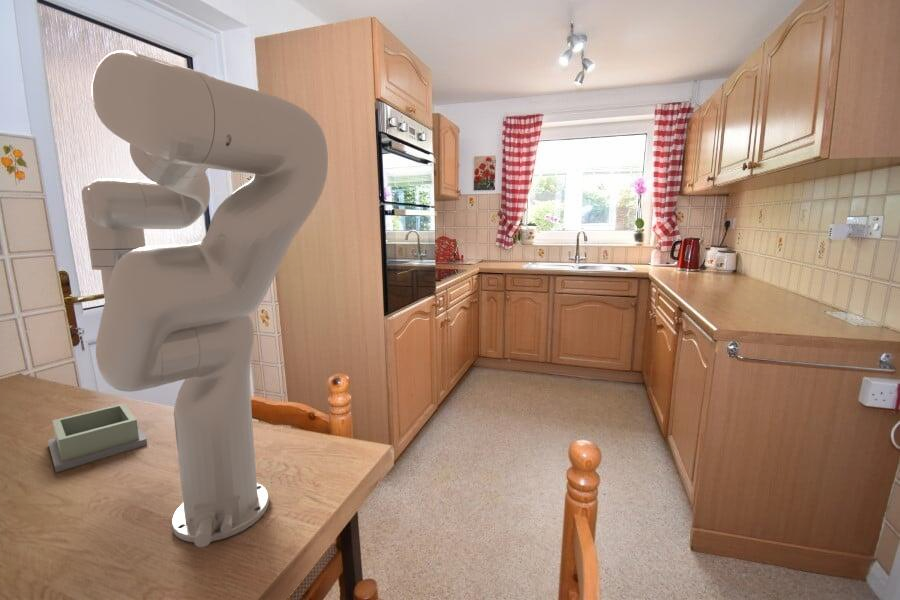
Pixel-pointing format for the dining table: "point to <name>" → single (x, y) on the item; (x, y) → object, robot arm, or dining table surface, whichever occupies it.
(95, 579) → the dining table surface
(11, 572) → the dining table surface
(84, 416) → the socket plate
